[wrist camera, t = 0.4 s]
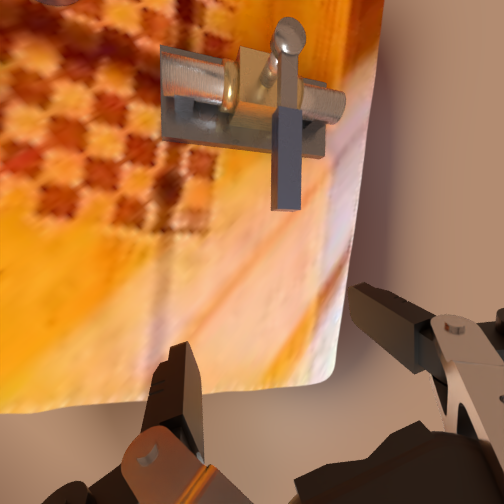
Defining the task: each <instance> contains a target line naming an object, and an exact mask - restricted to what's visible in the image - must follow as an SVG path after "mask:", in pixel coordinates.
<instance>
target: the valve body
mask: <svg viewBox="0 0 504 504" xmlns="http://www.w3.org/2000/svg"><path fill="white" fill-rule="evenodd" d="M277 65H278V60H277V59H276V58H275V56H274V55H273V53H272V52H271V54H270V53H266V52H262V51H258V50H254V49H250V48H246V47H242V46H240V48H239V51H238V55H237V58H236V61H235V60H230V59H226V58H223V59H220V58H216V57H211V56H207V55H202V54H198V53H194V52H189V51H185V50H181V49H176V48H172V47H168V46H163V45H160V69H161V126H162V141H171V142H179V143H188V144H196V145H204V146H213V147H221V148H230V149H238V150H246V151H255V152H263V153H272V114H273V113H274V112H275V110H276V109H277ZM345 105H346V96H345V93H344V92H342V91H337V90H333V89H328V88H326V83H324V82H320V81H315V80H311V79H307V78H302V77H301V76H299V75H298V84H297V109H299V110H302V157H305V158H314V159H321V158H323V157H325V125H326V124H330V125H334V124H336V123H337V122H338V121H339V120H340V118H341V116H342V114H343V112H344V109H345Z"/></svg>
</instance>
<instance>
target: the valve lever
mask: <svg viewBox="0 0 504 504" xmlns="http://www.w3.org/2000/svg"><path fill="white" fill-rule="evenodd" d="M305 43H306V34H305V31H304V28H303V27H302V25H301V24H300V23H299V22H298V21H297V20H296V19H294V18H291V17H285V18H282V19H281V20H280V21H279V22H278V24H277V27H276V29H275V31H274V33H273V35H272V38H271V41H270V46H271V51H272V53H273V55H274V56H275V58H276V59H277V60H278V65H277V109H276V110H275V112H274V113H273V114H272V155H271V211H289V212H293V211H298V210H301V164H302V110H299V109H297V84H298V55H299V54H300V52H301V51H302V49H303V47H304V46H305Z"/></svg>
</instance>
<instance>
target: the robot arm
mask: <svg viewBox="0 0 504 504" xmlns="http://www.w3.org/2000/svg"><path fill="white" fill-rule="evenodd" d="M36 1H38V2H41V3H45V4H48V5H54V6H64V5H69V4H72V3H75V2H76V1H78V0H36ZM348 300H349V310H350V316H351V318H352V321H353V322H354V323H355V324H356V326H357V327H358V328H360V329H361V330H362V331H363V332H364V333H366V334H367V335H368V336H369V337H370V338H372V339H373V340H374V341H375V342H376V343H378V344H379V345H380V346H381V347H382V348H384V349H385V350H386V351H387V352H388V353H389V354H391V355H392V356H393V357H394V358H396V359H397V360H398V361H399V362H400V363H401V364H403V365H404V366H405V367H406V368H407V369H409V370H410V371H411V372H412V373H413V374H417V373H419V372H421V371H423V370H427V371H428V372H429V373H430V383H431V386H432V389H433V392H434V395H435V399H436V401H437V405H438V408H439V411H440V415H441V418H442V421H443V424H444V429H445V432H439V431H432V432H430V431H429V430H428V429H427V428H426V427H425V426H424V424H423V423H422V422H421V421H417V422H415V423H413V424H411V425H409V426H406V427H405V428H402V429H400V430H398V431H396V432H394V433H392V434H390V435H389V436H388V437H387V438H386V439H385V440H384V442H383V443H382V444H381V445H380V446H379V447H378V448H377V449H376V450H375V451H374V452H373V453H372V454H371V455H370V456H369V457H368V458H366V459H363V460H357V461H348V462H340V463H332V464H326V465H324V466H322V467H320V468H318V469H315V470H313V471H311V472H309V473H307V474H305V475H303V476H301V477H298V478H296V479H294V483H295V487H296V491H297V495H296V496H295V497H294V498H293V499H292V500H291V501H290V502H289V503H288V504H504V308H502V309H499V310H498V311H497V315H496V321H495V322H485V323H474V322H473V321H471V320H469V319H467V318H464V317H461V316H456V315H438V316H436V315H434V314H432V313H430V312H428V311H426V310H424V309H422V308H421V307H418V306H416V305H415V304H413V303H411V302H409V301H408V302H407V301H406V300H405V299H403V298H401V297H399V296H397V295H395V294H394V293H392V292H390V291H387V290H383V289H379V288H374V287H372V286H371V285H369V284H367V283H365V282H361V283H359V284H355V285H353V286H350V287H348ZM202 415H203V414H202V388H201V377H200V372H199V369H198V366H197V363H196V361H195V358H194V355H193V352H192V350H191V347H190V344H189V342H188V341H186V342H183V343H180V344H178V345H175V346H172V347H170V351H169V358H168V361H165V362H162V363H160V364H159V366H158V367H157V369H156V371H155V372H154V374H153V378H152V382H151V387H150V391H149V396H148V401H147V405H146V410H145V415H144V419H143V424H142V428H141V433H140V435H138V436H137V437H136V438H135V439H134V440H133V441H132V443H131V444H130V445H129V447H128V448H127V450H126V452H125V454H124V457H123V459H122V463H121V464H120V465H119V466H118V467H116V468H115V469H114V470H112V472H110V473H108V474H107V475H106V476H104V477H103V478H101V479H100V480H99V481H97V482H96V483H95V484H93V485H92V486H90V487H89V488H88V487H87V486H86V485H85V484H84V483H83V482H81V481H74V482H71V483H68V484H66V485H64V486H62V487H61V488H59V489H58V490H56V491H55V492H54V493H53V494H51V495H50V496H49V497H48V498H47V499H46V500H45V501H44V502H43V503H42V504H253V503H252V502H251V501H250V500H249V499H248V498H247V497H246V496H245V495H244V494H243V493H242V492H241V491H240V490H239V489H238V488H237V487H236V486H235V485H234V484H232V483H231V482H230V481H229V480H228V479H227V478H226V477H225V476H224V475H223V474H222V473H221V472H220V471H219V470H218V469H217V468H216V467H214V466H213V465H211V464H210V465H209V466H208V467H206V466H205V465H204V441H203V440H204V439H203V416H202Z"/></svg>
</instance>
